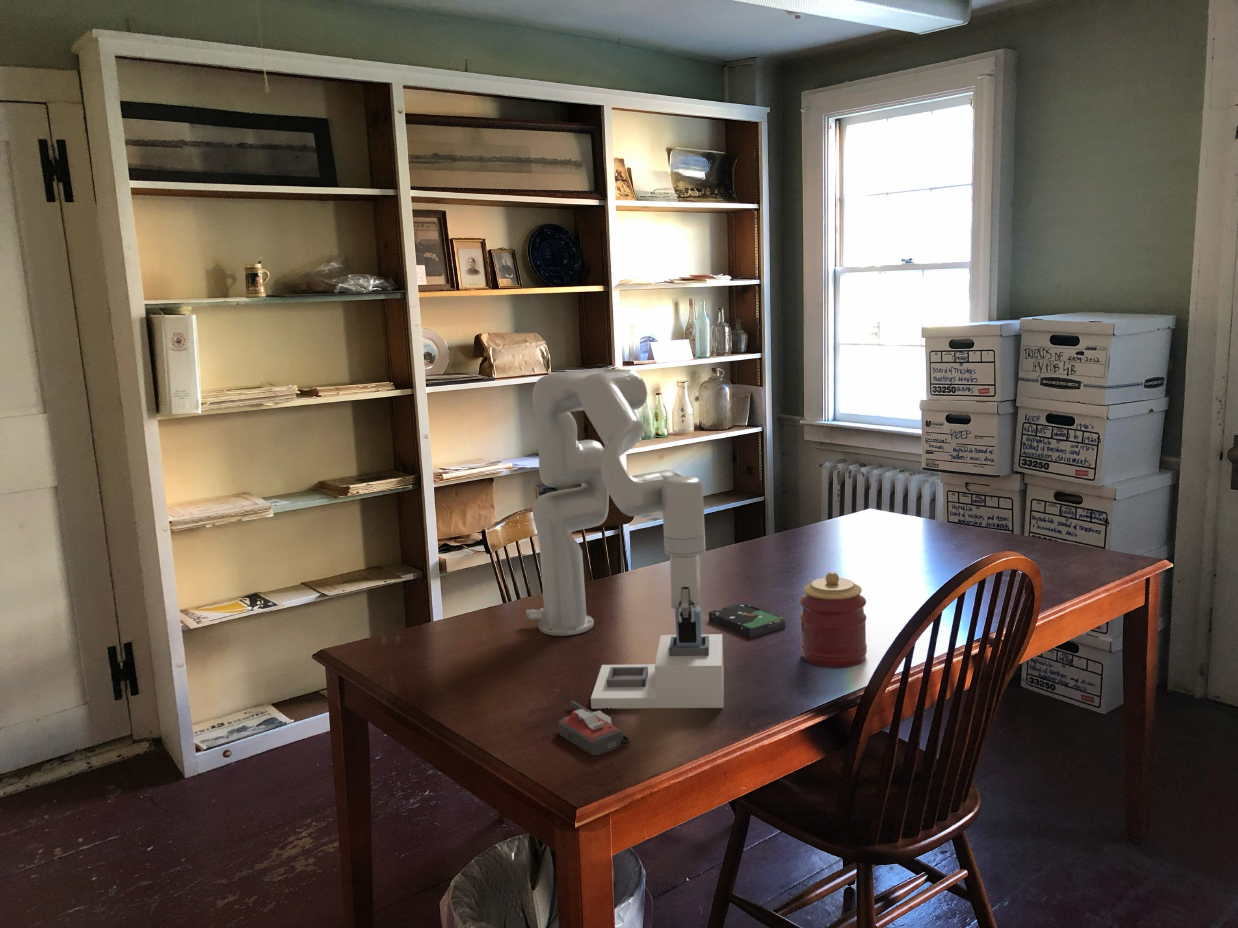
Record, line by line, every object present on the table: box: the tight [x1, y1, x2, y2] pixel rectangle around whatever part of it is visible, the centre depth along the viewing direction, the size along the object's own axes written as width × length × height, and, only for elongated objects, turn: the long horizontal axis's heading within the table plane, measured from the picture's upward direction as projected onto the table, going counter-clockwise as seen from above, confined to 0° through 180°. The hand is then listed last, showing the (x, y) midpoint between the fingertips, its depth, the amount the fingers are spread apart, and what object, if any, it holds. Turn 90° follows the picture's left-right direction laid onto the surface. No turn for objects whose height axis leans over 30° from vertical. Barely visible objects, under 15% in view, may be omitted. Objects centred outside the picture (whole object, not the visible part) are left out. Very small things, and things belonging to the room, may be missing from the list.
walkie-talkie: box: [558, 700, 631, 756], centre depth 167 cm, size 9×4×20 cm
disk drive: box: [708, 602, 786, 639], centre depth 216 cm, size 10×3×15 cm
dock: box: [590, 633, 725, 710], centre depth 182 cm, size 24×16×10 cm, turn 84°
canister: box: [799, 571, 868, 668], centre depth 193 cm, size 13×13×18 cm
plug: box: [674, 605, 703, 647], centre depth 180 cm, size 4×4×8 cm
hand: (688, 632), depth 180 cm, fingers open, 9 cm apart
